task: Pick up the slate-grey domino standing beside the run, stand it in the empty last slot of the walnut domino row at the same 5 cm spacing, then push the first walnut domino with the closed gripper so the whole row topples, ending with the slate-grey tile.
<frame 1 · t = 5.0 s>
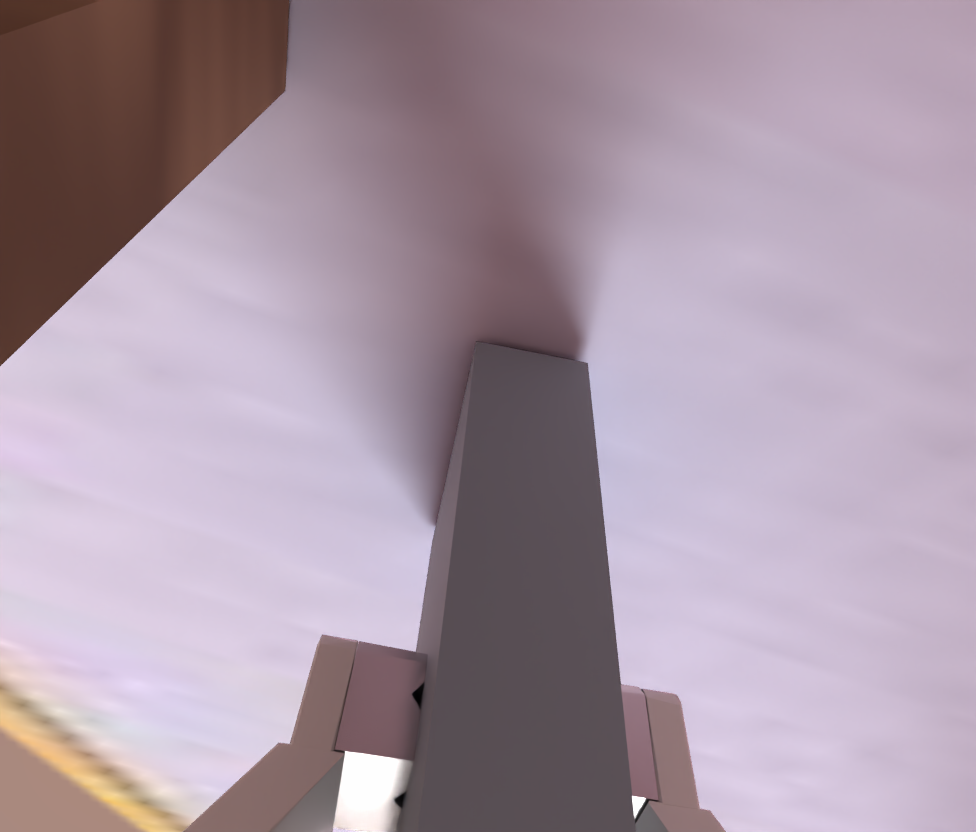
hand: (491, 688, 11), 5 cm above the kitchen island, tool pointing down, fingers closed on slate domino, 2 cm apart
slate domino: (502, 460, 15), on the kitchen island, touching gripper
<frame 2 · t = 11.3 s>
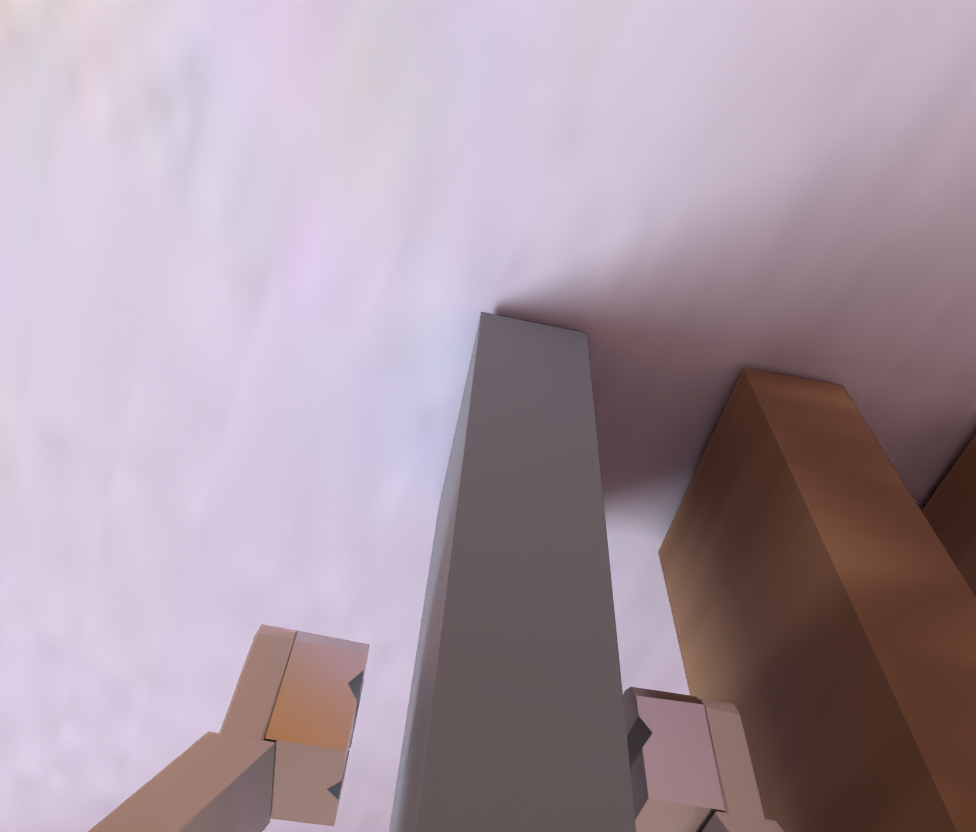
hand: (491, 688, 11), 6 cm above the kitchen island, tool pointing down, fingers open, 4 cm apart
domino 4: (742, 475, 16), on the kitchen island, touching gripper
slate domino: (506, 428, 16), on the kitchen island
domino 3: (967, 516, 17), on the kitchen island
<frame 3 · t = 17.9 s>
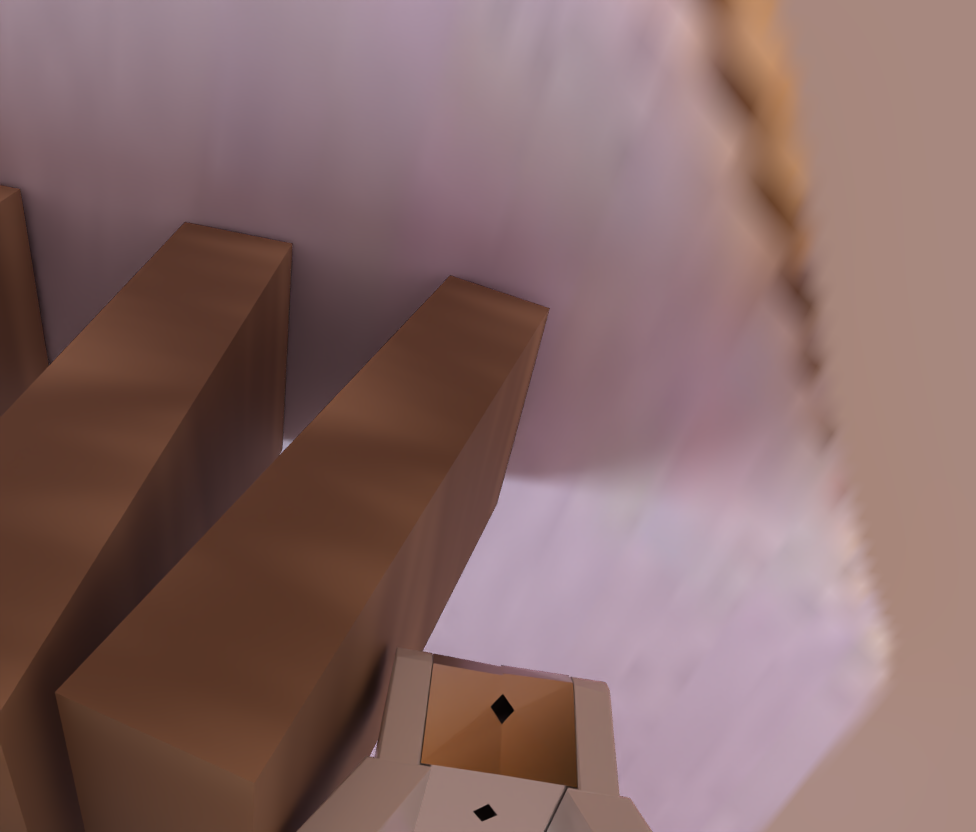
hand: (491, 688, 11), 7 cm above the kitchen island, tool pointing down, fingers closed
domino 2: (238, 345, 16), on the kitchen island
domino 1: (475, 398, 16), on the kitchen island, tilted 15°
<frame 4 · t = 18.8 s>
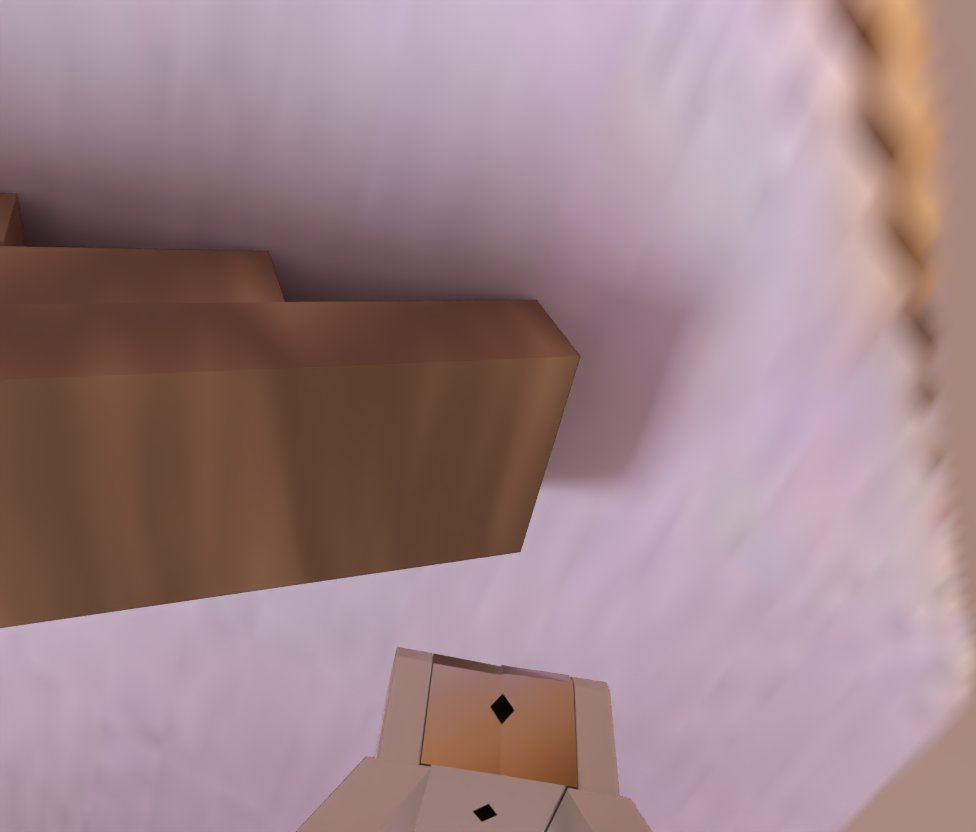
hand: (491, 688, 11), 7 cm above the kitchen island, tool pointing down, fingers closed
domino 2: (271, 388, 16), point 1 cm above the kitchen island, tilted 66°, touching domino 1, domino 3
domino 3: (31, 336, 15), point 1 cm above the kitchen island, tilted 68°, touching domino 2, domino 4
domino 1: (527, 431, 16), point 1 cm above the kitchen island, tilted 66°, touching domino 2
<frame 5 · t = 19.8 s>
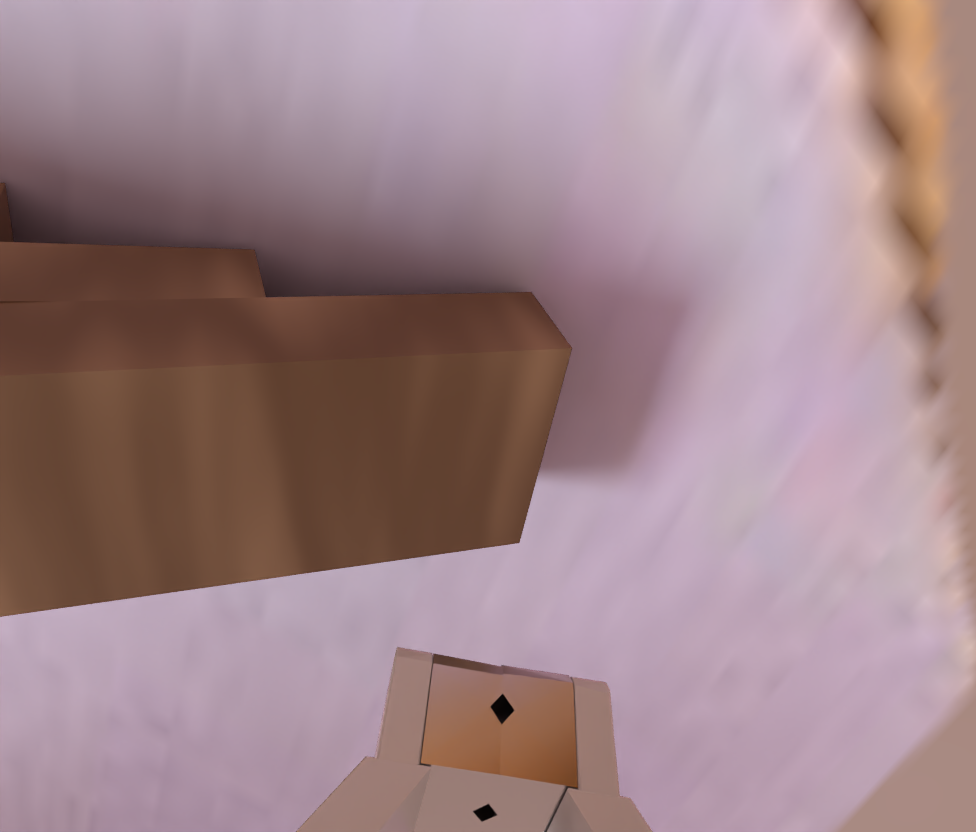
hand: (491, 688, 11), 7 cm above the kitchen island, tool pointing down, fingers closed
domino 2: (256, 385, 16), point 1 cm above the kitchen island, tilted 68°, touching domino 1, domino 3
domino 3: (15, 324, 16), point 1 cm above the kitchen island, tilted 69°, touching domino 2
domino 1: (524, 423, 16), point 1 cm above the kitchen island, tilted 68°, touching domino 2
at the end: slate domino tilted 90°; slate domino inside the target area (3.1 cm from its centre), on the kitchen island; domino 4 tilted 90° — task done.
